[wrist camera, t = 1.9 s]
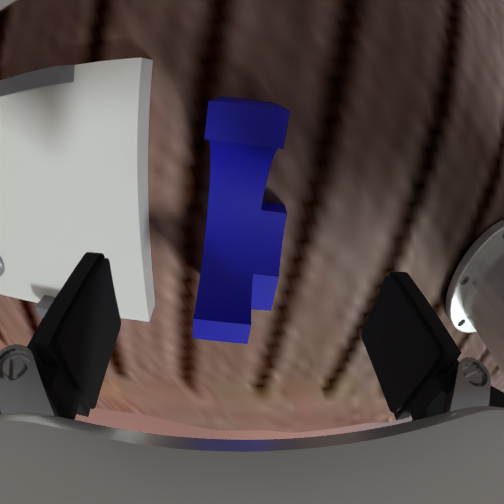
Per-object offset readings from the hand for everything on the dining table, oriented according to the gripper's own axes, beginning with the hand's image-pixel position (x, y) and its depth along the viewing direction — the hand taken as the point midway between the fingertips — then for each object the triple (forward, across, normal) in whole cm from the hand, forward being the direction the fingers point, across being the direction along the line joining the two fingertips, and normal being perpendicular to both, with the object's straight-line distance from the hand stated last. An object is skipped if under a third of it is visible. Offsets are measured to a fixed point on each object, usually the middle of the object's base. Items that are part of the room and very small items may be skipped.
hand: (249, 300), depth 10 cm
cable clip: (+10, 0, 0) cm, 10 cm away
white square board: (+10, +14, +1) cm, 17 cm away
